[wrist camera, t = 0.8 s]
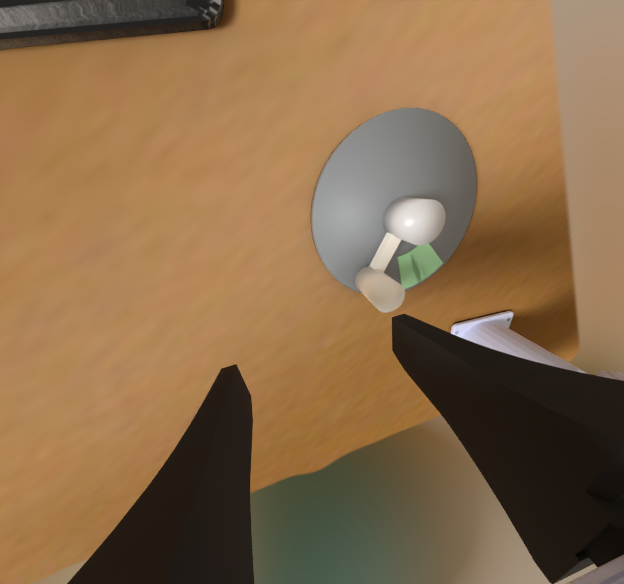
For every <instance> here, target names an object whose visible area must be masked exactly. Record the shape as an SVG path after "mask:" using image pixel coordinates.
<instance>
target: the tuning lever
mask: <svg viewBox="0 0 624 584" xmlns="http://www.w3.org/2000/svg"><path fill="white" fill-rule="evenodd" d="M445 218H446V214H445V210H444V207H443V206H442V204H441V203H440V202H438V201H436V200H432V199H420V198H409V197H401V198H398V199H396V200H394V201H393V202H392V203H390V205H389V206H388V207H387V209H386V211H385V213H384V217H383V225H384V228H385V230H386V232H387V233H386V235H385V237H384V239H383V241H382V243H381V244H380V246H379V248H378V250H377V252H376V254H375V256H374V258H373V260H372V262H371V264H370V265H369V266H366V267H364V268H362V269H361V270H360V271H359V272H358V273H357V275H356V278H355V285H356V287H357V288H358V289H359V290H360V291H361V293H362V294H363V295H364V296H365V297H366V298H367V299H368V300H369V301H370V302H371V303H372V304H373V305H374V306H375V307H376V308H377V309H378V310H379V311H381V312H391V311H394V310H395V309H397V308H398V307H399V306H400V305H401V304H402V302H403V301H404V298H405V290H404V288H403V286H402V285H400V284H399V283H398V282H396V281H395V280H393V279H392V278H391V277H389V276H388V275H386V274H385V273H383V272H384V271H385V269H386V267H387V265H388V263H389V261H390V260H391V258H392V256H393V254H394V252H395V251H396V249H397V247H398V245H399V243H400V241H401V240H404V241H407V242H409V243H412V244H414V245H419V246H421V245H426V244H428V243H430V242H432V241H433V240H434V239H436V238H437V237H438V235H439V234H440V233H441V231H442V229H443V227H444V224H445Z"/></svg>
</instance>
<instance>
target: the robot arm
mask: <svg viewBox="0 0 624 584" xmlns="http://www.w3.org/2000/svg"><path fill="white" fill-rule="evenodd" d="M512 317H513V312H511V311H506V312H502V313H498V314H494V315H489V316H485V317H481V318H477V319H473V320H468V321H464V322H460V323H456V324H454V325H453V326H452V329H451V333H448V332H446V331H444V330H441V329H439V328H437V327H434V326H432V325H430V324H427V323H425V322H423V321H420V320H418V319H416V318H413V317H411V316H408V315H406V314H402V315H398V316H395V317H392V349H393V352H394V354H395V356H396V357H397V359H398V360H399V362H400V363H401V365H402V367H403V368H404V370H405V371H406V372H407V373H408V375H409V376H410V377H411V378H412V379H413V381H414V382H415V383H416V384H417V386H418V387H419V388H420V389H421V390H422V392H423V393H424V394H425V395H426V396H427V398H428V399H429V400H430V401H431V403H432V404H433V405H434V406H435V407H436V409H437V410H438V411H439V412H440V413H441V415H442V416H443V417H444V418H445V420H446V421H447V423H448V424H449V425H450V427H451V428H452V430H453V431H454V433H455V434H456V436H457V437H458V438H459V440H460V441H461V443H462V444H463V446H464V447H465V449H466V450H467V452H468V453H469V455H470V456H471V458H472V459H473V461H474V462H475V464H476V466H477V467H478V469H479V470H480V472H481V473H482V475H483V476H484V478H485V479H486V481H487V483H488V484H489V486H490V487H491V489H492V490H493V492H494V494H495V495H496V497H497V499H498V500H499V502H500V503H501V505H502V507H503V508H504V510H505V511H506V513H507V515H508V517H509V518H510V520H511V522H512V524H513V525H514V527H515V529H516V530H517V532H518V534H519V535H520V537H521V539H522V540H523V542H524V544H525V546H526V547H527V549H528V551H529V553H530V554H531V556H532V558H533V560H534V561H535V563H536V564H537V566H538V567H539V568H540V570H541V571H542V572H543V574H544V575H545V576H546V578H547V579H548V580H549V582H550V583H552V584H554V583H556V582H558V581H560V580H562V579H564V578H566V577H568V576H570V575H572V574H574V573H576V572H578V571H580V570H582V569H584V568H586V567H588V566H590V565H592V564H595V565H596V566H597V567H598V568H596V569H594V570H592V571H590V572H588V573H586V574H585V575H583V576H581V577H579V578H577V579H575V580H573V581H571V582H569V583H567V584H624V375H622V374H620V373H618V372H616V371H614V372H613V371H608V372H604V371H599V372H598V373H597V374H596V375H591V374H588V373H586V372H584V371H582V370H580V369H579V368H577V367H575V366H573V365H572V364H570V363H568V362H566V361H565V360H563V359H561V358H559V357H558V356H556V355H554V354H552V353H551V352H549V351H547V350H546V349H544V348H542V347H540V346H539V345H537V344H535V343H533V342H532V341H530V340H528V339H526V338H525V337H523V336H521V335H519V334H518V333H516V332H514V331H512V330H511V329H509V326H510V323H511V320H512ZM252 426H253V417H252V403H251V395H250V393H249V391H248V389H247V386H246V384H245V382H244V380H243V378H242V376H241V374H240V371H239V369H238V367H237V365H232V366H229V367H226V368H222V369H221V371H220V372H219V374H218V376H217V378H216V380H215V381H214V383H213V385H212V387H211V389H210V391H209V392H208V394H207V396H206V398H205V400H204V401H203V403H202V405H201V407H200V408H199V410H198V412H197V414H196V415H195V417H194V419H193V420H192V422H191V424H190V425H189V427H188V429H187V430H186V432H185V433H184V435H183V436H182V438H181V440H180V441H179V443H178V444H177V446H176V447H175V449H174V450H173V452H172V453H171V455H170V456H169V458H168V459H167V461H166V462H165V464H164V465H163V467H162V468H161V469H160V471H159V472H158V473H157V475H156V476H155V478H154V479H153V480H152V482H151V483H150V484H149V486H148V487H147V488H146V490H145V491H144V492H143V493H142V495H141V496H140V497H139V499H138V500H137V501H136V502H135V504H134V505H133V506H132V507H131V509H130V510H129V511H128V512H127V514H126V515H125V516H124V517H123V519H122V520H121V521H120V523H119V524H118V525H117V526H116V528H115V529H114V530H113V531H112V532H111V534H110V535H109V536H108V537H107V538H106V540H105V541H104V542H103V543H102V544H101V545H100V547H99V548H98V549H97V550H96V551H95V553H94V554H93V555H92V556H91V557H90V558H89V560H88V561H87V562H86V563H85V564H84V565H83V566H82V568H81V569H80V570H79V571H78V572H77V573H76V575H75V576H74V577H73V578H72V579H71V580H70V581H69V582H68V584H254V573H253V556H252V537H251V514H250V471H251V449H252Z"/></svg>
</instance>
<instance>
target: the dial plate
mask: <svg viewBox="0 0 624 584" xmlns="http://www.w3.org/2000/svg"><path fill="white" fill-rule="evenodd" d="M476 188H477V178H476V168H475V163H474V158H473V155H472V153H471V150H470V147H469V145H468V143H467V141H466V139H465V138H464V136H463V135H462V133H461V132H460V131H459V129H458V128H457V127H456V126H455V125H454V124H452V123H451V122H450V121H449V120H448V119H446V118H445V117H443V116H441V115H440V114H437V113H435V112H432V111H430V110H426V109H420V108H402V109H396V110H391V111H388V112H385V113H383V114H380V115H378V116H376V117H374V118H372V119H370V120H369V121H367V122H365V123H363V124H362V125H360V126H359V127H357V128H356V129H355V130H353V131H352V132H351V133H349V134H348V135H347V136H346V137H345V138H344V139H343V140H342V141H341V142H340V143H339V145H338V146H337V147H336V148H335V150H334V151H333V152H332V153H331V155H330V157H329V158H328V160H327V161H326V163H325V165H324V167H323V169H322V171H321V173H320V175H319V178H318V180H317V183H316V187H315V190H314V194H313V199H312V204H311V230H312V236H313V241H314V244H315V247H316V250H317V252H318V254H319V257H320V259H321V260H322V262H323V263H324V265H325V266H326V268H327V269H328V270H329V271H330V273H331V274H332V275H333V276H334V277H335V278H336V279H337V280H338V281H339V282H341V283H342V284H343V285H345V286H346V287H348V288H350V289H352V290H354V291H356V292H359V293H361V291H360V290H359V289H358V288H357V287H356V285H355V278H356V275H357V273H358V272H359V271H360V270H361V269H362V268H364V267H366V266H369V265H370V264H371V262H372V260H373V258H374V256H375V254H376V252H377V250H378V248H379V246H380V244H381V243H382V241H383V239H384V237H385V235H386V233H387V232H386V230H385V228H384V225H383V217H384V213H385V211H386V209H387V207H388V206H389V205H390V203H392V202H393V201H394V200H396V199H398V198H401V197H409V198H420V199H432V200H436V201H438V202H440V203H441V204H442V206H443V207H444V210H445V214H446V218H445V224H444V227H443V229H442V231H441V233H440V234H439V235H438V237H437V238H436V239H434V240H433V241H432V242H430V243H428V244H426V245H421V246H419V245H414V244H412V243H409V242H407V241H404V240H401V241H400V243H399V245H398V247H397V249H396V251H395V252H394V254H393V256H392V258H391V260H390V261H389V263H388V265H387V267H386V269H385V271H384V272H383V273H385V274H386V275H388V276H389V277H391V278H392V279H393V280H395V281H396V282H398V283H399V284H400V285H402V286H403V288H404V290H405V291H406V290H409V289H411V288H413V287H415V286H417V285H419V284H421V283H422V282H424V281H425V280H427V279H428V278H430V277H431V276H432V275H433V274H435V273H436V272H437V271H438V270H439V269H440V268H441V267H442V266H443V265H444V264H445V263H446V262H447V261H448V259H449V258H450V257H451V256H452V254H453V253H454V251H455V250H456V249H457V247H458V245H459V244H460V242H461V240H462V239H463V237H464V235H465V232H466V230H467V228H468V225H469V223H470V220H471V217H472V213H473V209H474V205H475V199H476Z"/></svg>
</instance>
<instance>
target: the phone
mask: <svg viewBox="0 0 624 584" xmlns="http://www.w3.org/2000/svg"><path fill="white" fill-rule="evenodd" d="M223 7H224V6H223V0H0V49H9V48H20V47H30V46H41V45H51V44H61V43H72V42H82V41H92V40H103V39H113V38H124V37H134V36H144V35H155V34H165V33H175V32H186V31H196V30H206V29H211V28H214V27H215V26H216V25H217V24H218V23H219V22H220V20H221V17H222V15H223Z"/></svg>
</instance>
